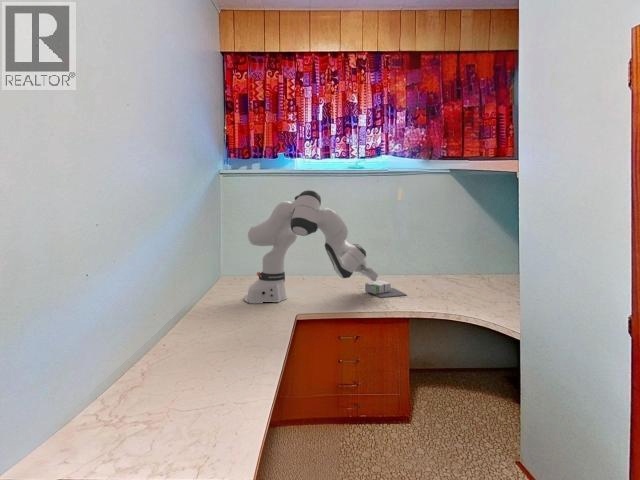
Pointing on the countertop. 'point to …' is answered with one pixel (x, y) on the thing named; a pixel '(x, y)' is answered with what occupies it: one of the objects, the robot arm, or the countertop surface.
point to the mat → (391, 293)
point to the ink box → (377, 287)
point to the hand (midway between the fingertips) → (374, 280)
